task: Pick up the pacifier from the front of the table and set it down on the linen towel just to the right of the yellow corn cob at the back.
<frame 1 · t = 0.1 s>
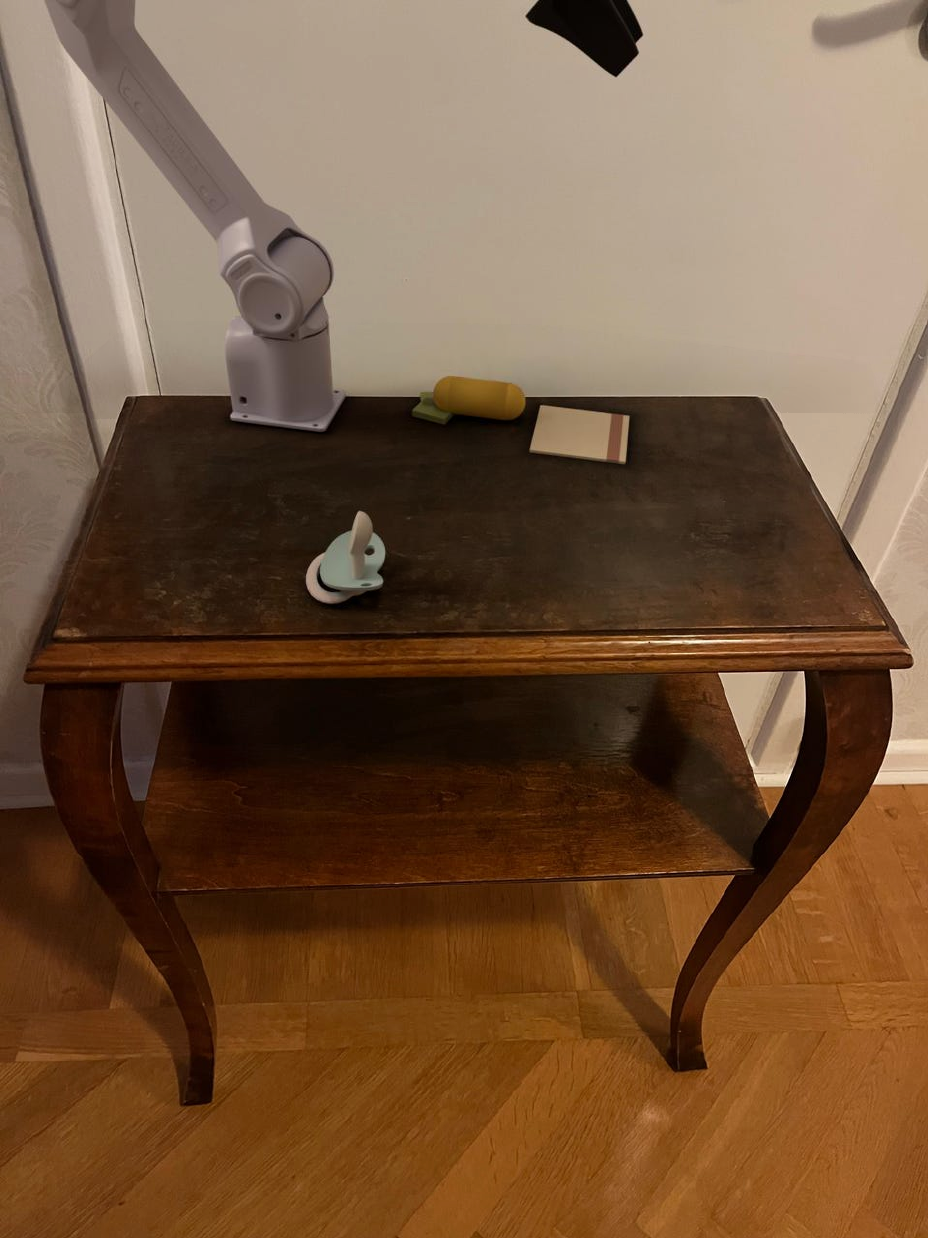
hand: (630, 55, 65), 32 cm above the table, tool tilted 50°, fingers open, 7 cm apart
towel: (580, 434, 88), on the table
corn: (472, 413, 90), on the table
pacifier: (345, 583, 70), on the table
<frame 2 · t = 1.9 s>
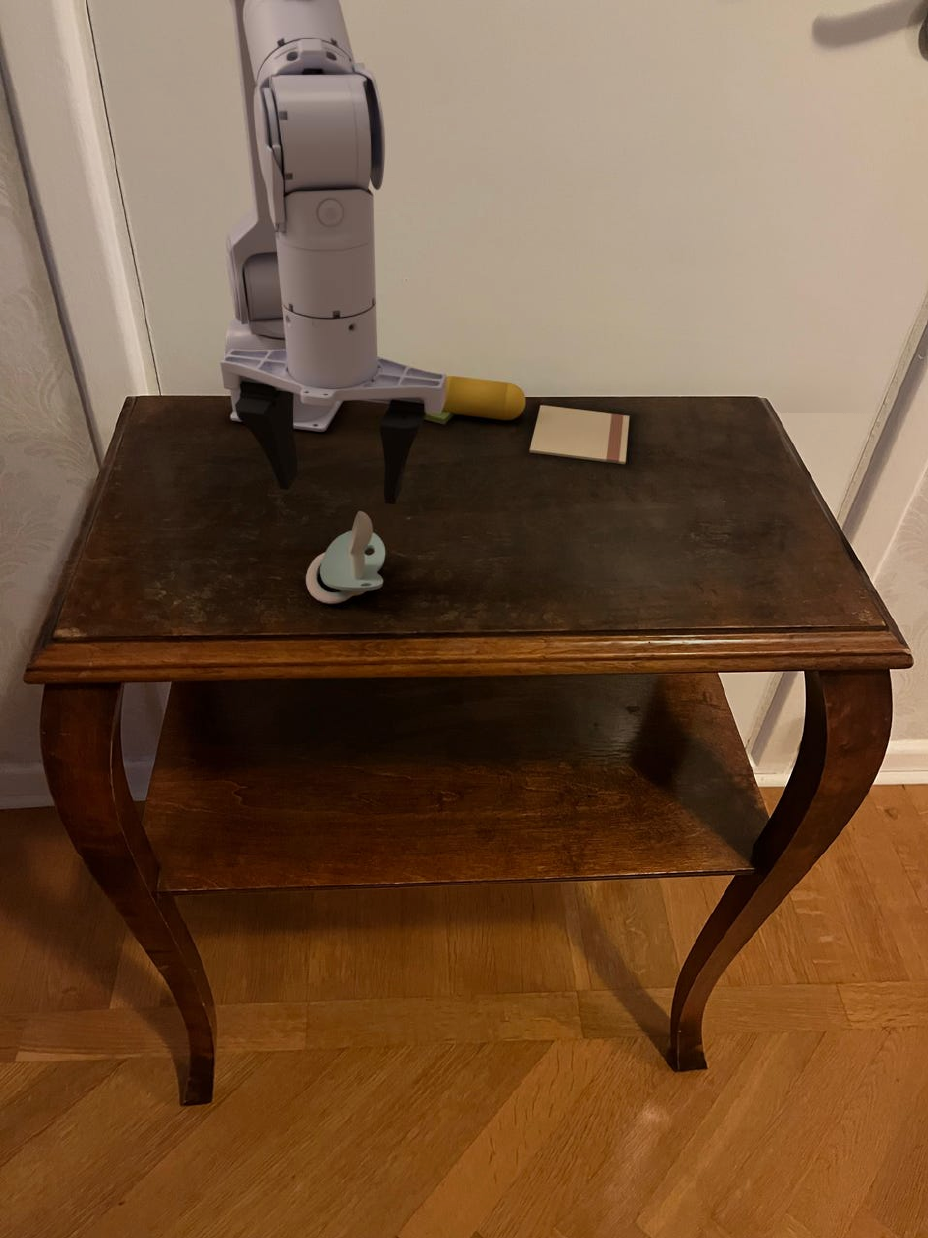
hand: (340, 489, 64), 8 cm above the table, tool pointing down, fingers open, 7 cm apart
nothing on the table moved.
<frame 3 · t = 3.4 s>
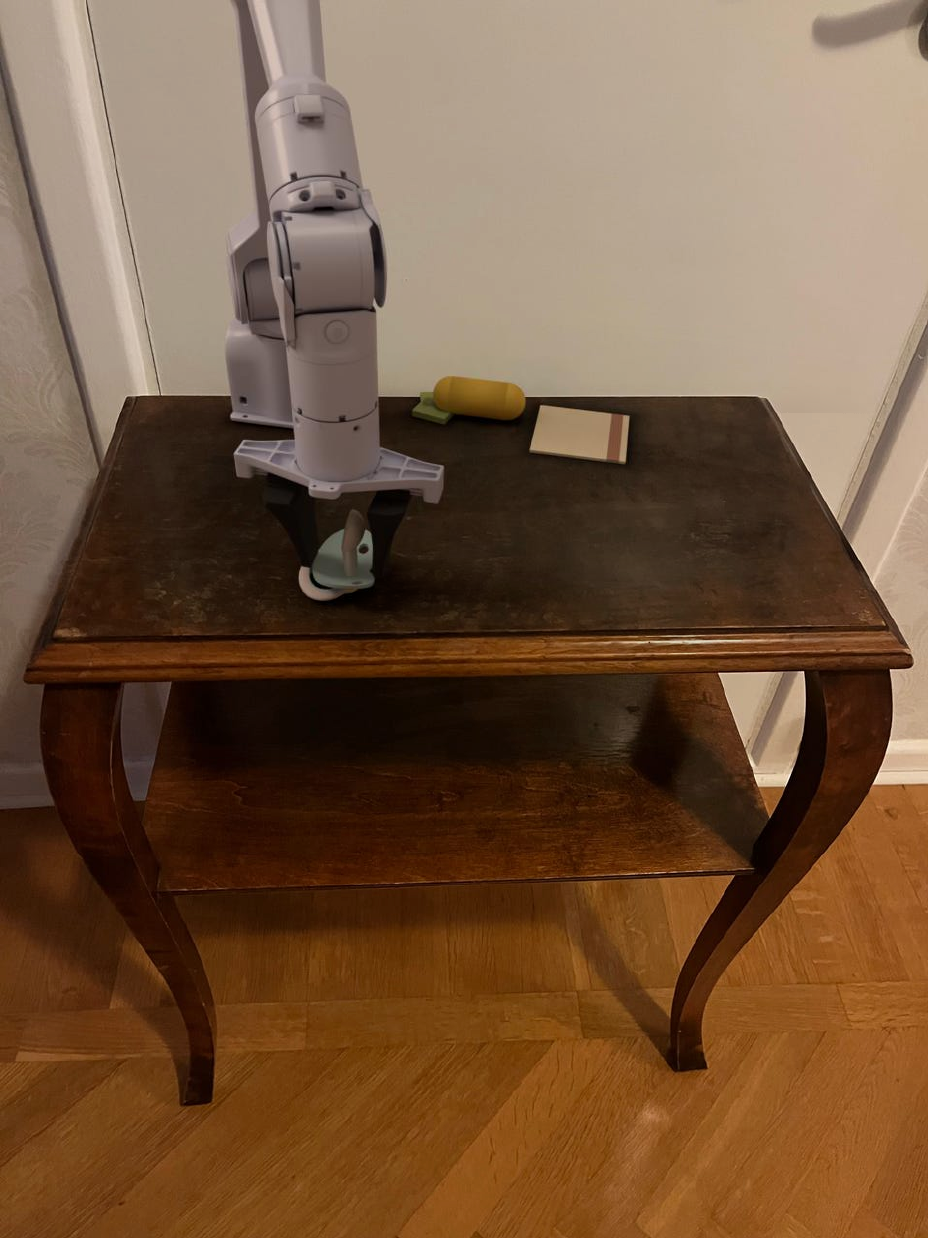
hand: (344, 564, 69), 2 cm above the table, tool pointing down, fingers closed on pacifier, 5 cm apart
pacifier: (338, 580, 70), on the table, touching gripper
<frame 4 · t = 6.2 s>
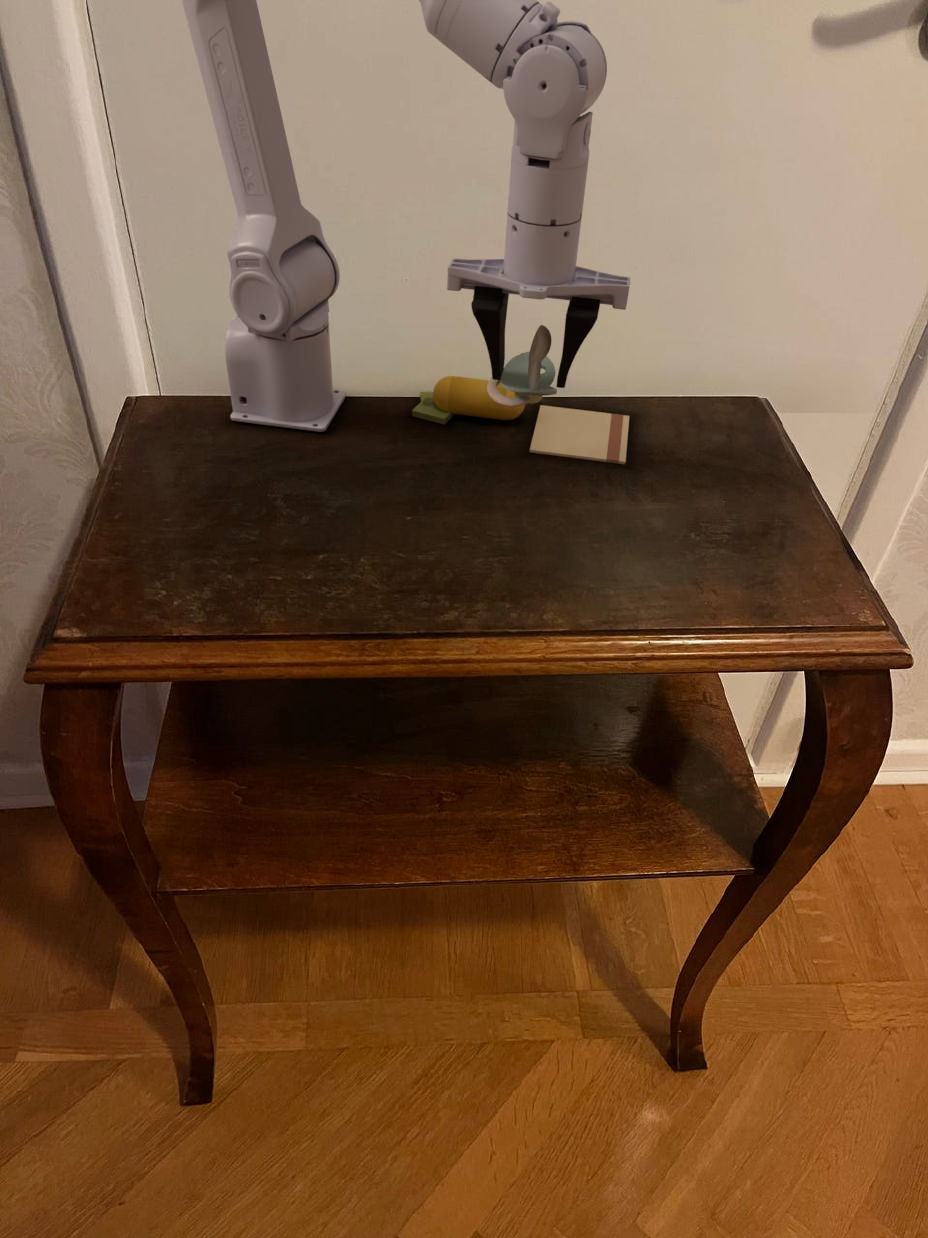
hand: (529, 378, 78), 8 cm above the table, tool pointing down, fingers closed on pacifier, 5 cm apart
pacifier: (520, 396, 80), point 7 cm above the table, touching gripper
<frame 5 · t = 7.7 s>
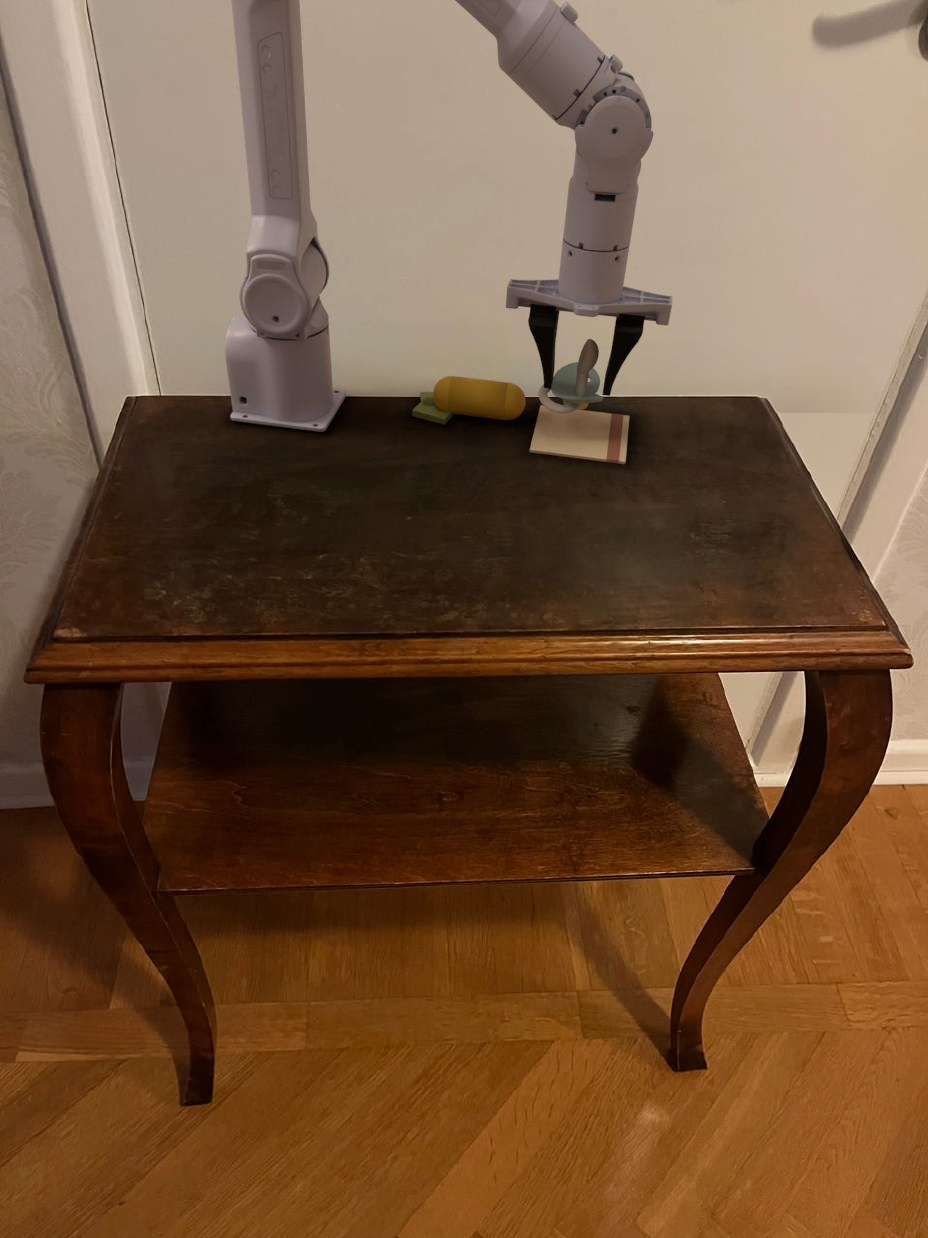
hand: (577, 387, 86), 4 cm above the table, tool pointing down, fingers closed on pacifier, 5 cm apart
pacifier: (568, 402, 87), point 3 cm above the table, touching gripper
when the fingers open (2 cm above the table, at t = 9.0 s): pacifier stays where it is, resting on towel.
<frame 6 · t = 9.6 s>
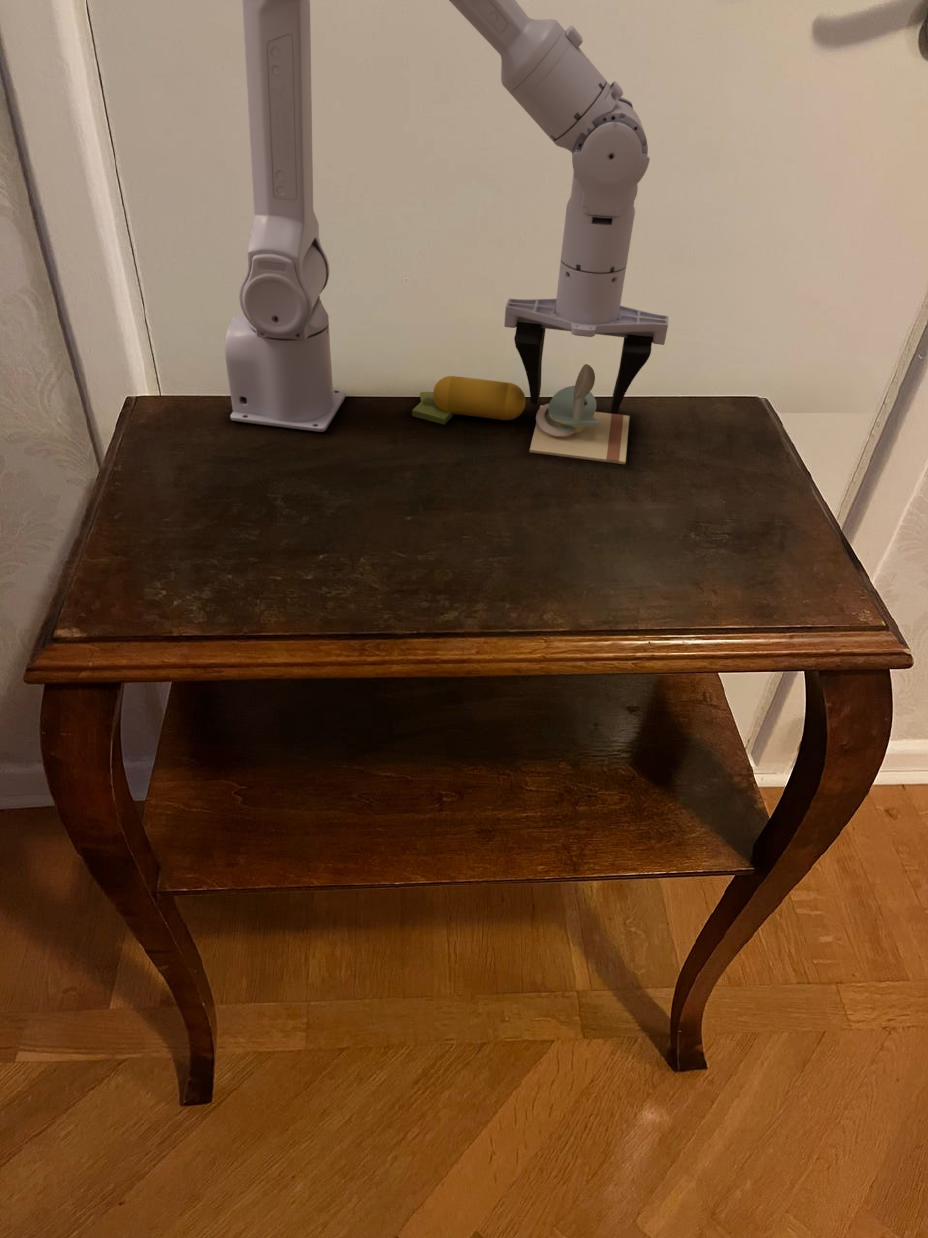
hand: (574, 404, 87), 3 cm above the table, tool pointing down, fingers open, 7 cm apart
pacifier: (565, 426, 89), resting on towel
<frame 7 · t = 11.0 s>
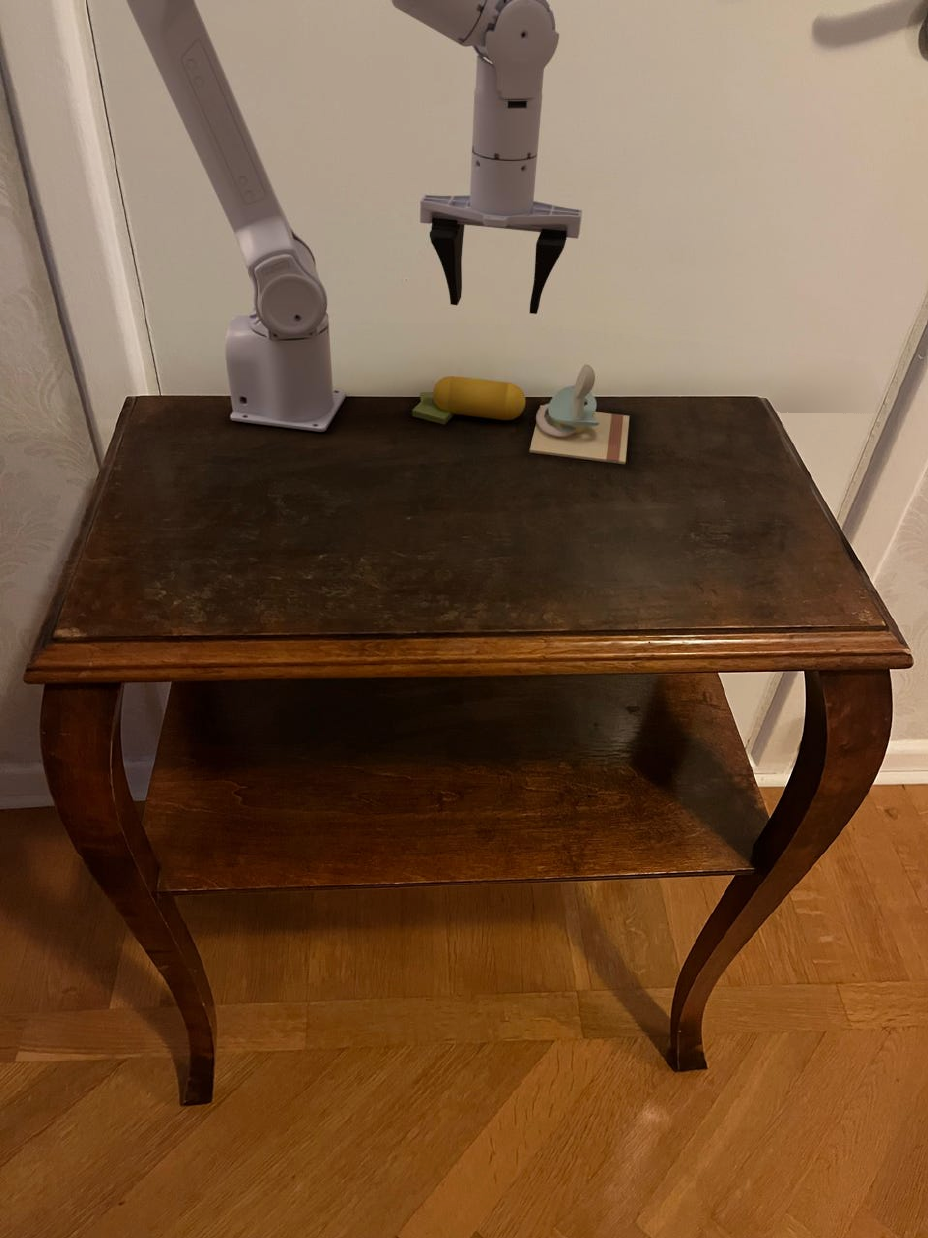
hand: (494, 305, 87), 9 cm above the table, tool pointing down, fingers open, 7 cm apart
nothing on the table moved.
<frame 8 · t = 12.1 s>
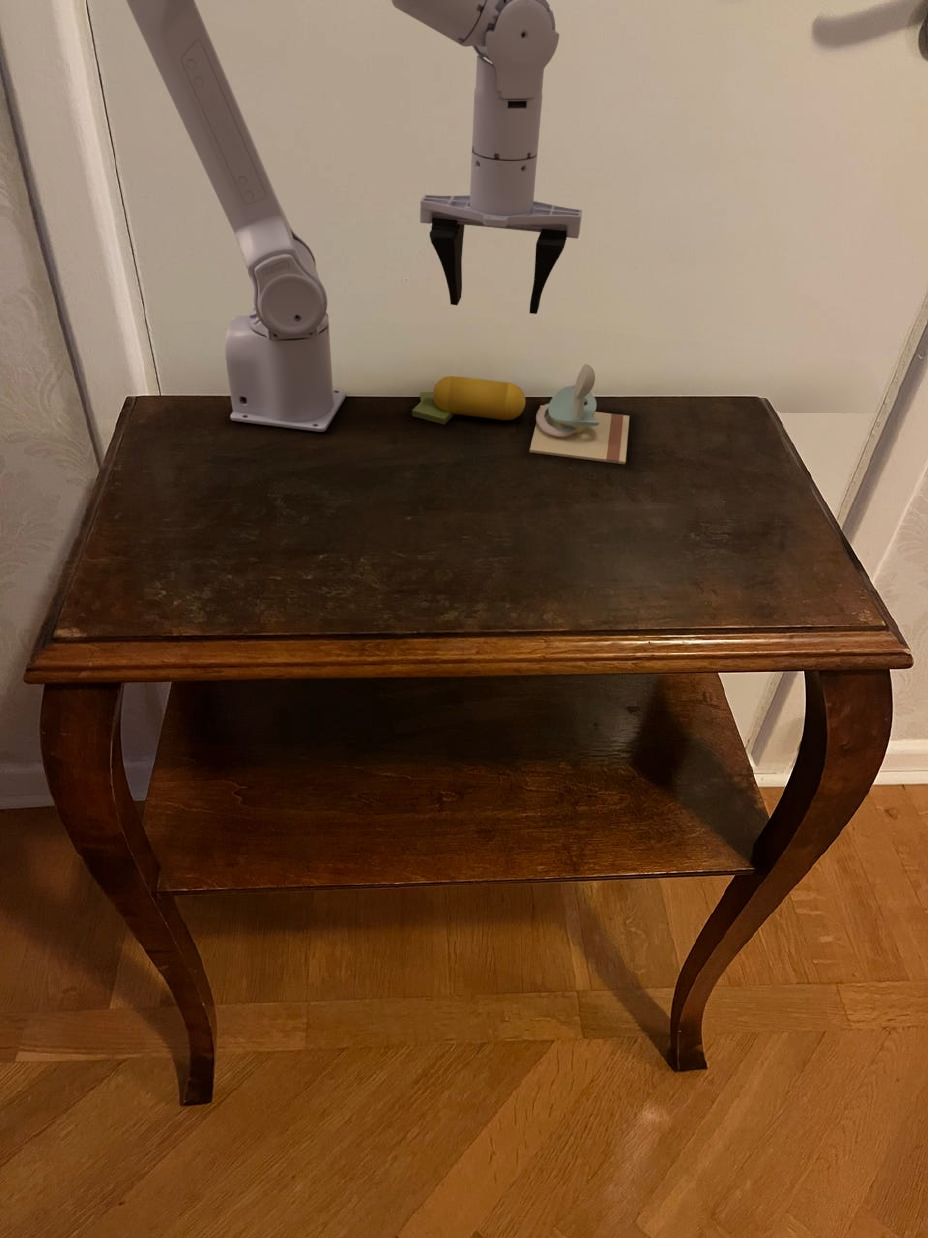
hand: (494, 305, 87), 9 cm above the table, tool pointing down, fingers open, 7 cm apart
nothing on the table moved.
at the end: pacifier inside the target area on the table beside the corn (0.2 cm from its centre), resting on towel; the gripper is holding nothing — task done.
